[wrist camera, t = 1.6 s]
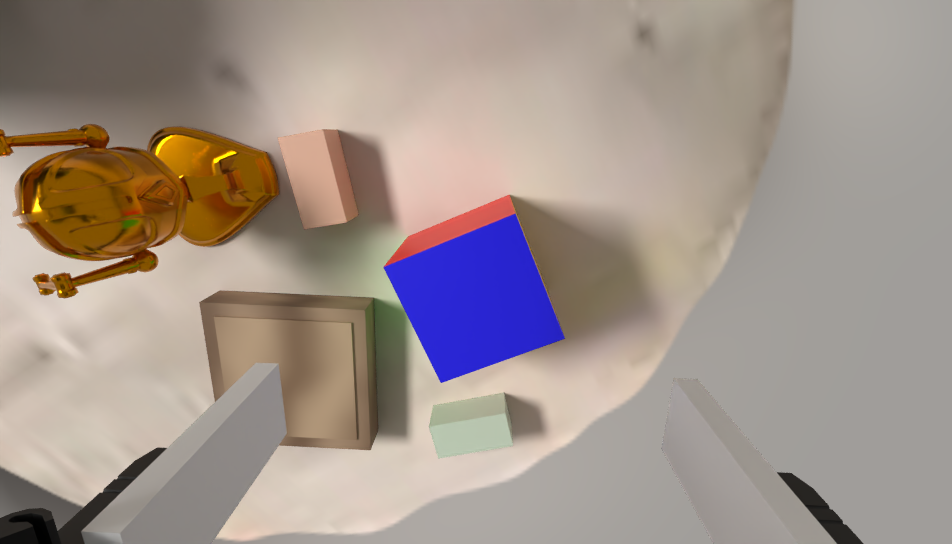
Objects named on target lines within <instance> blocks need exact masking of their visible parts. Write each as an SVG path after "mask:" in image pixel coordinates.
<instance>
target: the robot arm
mask: <svg viewBox="0 0 952 544" xmlns="http://www.w3.org/2000/svg"><path fill="white" fill-rule="evenodd" d="M286 434H287V430H286V422H285V413H284V405H283V397H282V388H281V380H280V372H279V364H276V363H255V364H254V365H253V366H252V367H251V368H250V369H249V370H248V371H247V372H246V373H245V374H244V375H243V376H242V377H241V378H240V379H239V380H238V381H237V382H235V383H234V384H233V385H232V386H231V387H230V388H229V389H228V390H227V391H226V392H225V393H224V394H223V395H222V396H221V397H220V398H219V399H218V400H217V401H216V402H215V403H214V404H213V405H212V406H211V407H210V408H209V409H207V410H206V411H205V412H204V413H203V414H202V415H201V416H200V417H199V418H198V419H197V420H196V421H195V422H194V423H193V424H192V425H191V426H190V427H189V428H188V429H187V430H186V431H185V432H184V433H183V434H182V435H180V436H179V437H178V438H177V439H176V440H175V441H174V442H173V443H172V444H171V445H170V446H169V447H168V448H156V449H154V450H152V451H151V452H149V453H147V454H146V455H144V456H142V457H141V458H139V459H137V460H135V461H134V462H133V463H132V464H131V465H130V466H129V467H128V468H127V469H125V470H124V471H123V472H122V473H121V474H120V475H119V476H118V479H117V480H116V479H114V480H113V481H112V482H111V483H110V484H109V485H108V486H107V487H106V488H105V489H104V491H103V493H99V494H98V495H97V496H96V497H95V498H94V499H93V500H91V501H90V502H89V503H88V504H87V505H86V506H85V507H84V508H83V509H82V510H80V511H79V512H78V513H77V514H76V515H75V516H74V517H73V518H72V519H71V520H70V521H68V522H67V523H66V524H65V525H64V526H63V527H62V528H61V529H60V530H59V531H57V528H56V525H55V522H54V519H53V516H52V513H51V511H48V510H46V509H43V508H38V509H26V510H22V511H19V512H15V513H11V514H9V515H6V516H4V517H2V518H0V544H211V543H212V542H213V540H214V539H215V537H216V536H217V534H218V533H219V531H220V530H221V529H222V527H223V526H224V524H225V523H226V521H227V520H228V518H229V517H230V515H231V514H232V513H233V511H234V510H235V508H236V507H237V505H238V504H239V502H240V501H241V499H242V498H243V497H244V495H245V494H246V492H247V491H248V489H249V488H250V486H251V485H252V483H253V482H254V481H255V479H256V478H257V476H258V475H259V473H260V472H261V470H262V469H263V467H264V466H265V465H266V463H267V462H268V460H269V459H270V457H271V456H272V454H273V453H274V451H275V450H276V448H277V447H278V446H279V444H280V443H281V441H282V440H283V438H284V437H285V435H286ZM662 451H663V453H664V454H665V456H666V458H667V460H668V461H669V464H670V465H671V467H672V469H673V471H674V472H675V474H676V476H677V478H678V480H679V482H680V484H681V486H682V487H683V489H684V491H685V493H686V495H687V496H688V498H689V500H690V502H691V504H692V506H693V508H694V509H695V511H696V513H697V515H698V517H699V518H700V520H701V522H702V524H703V526H704V528H705V529H706V531H707V533H708V535H709V537H710V539H711V541H712V542H713V544H863V543H862V542H861V540H860V539H859V538H858V537H857V536H856V535H855V534H854V533H853V532H852V531H851V529H850V528H849V527H848V526H847V525H844V524H843V521H842V520H841V519H840V517H839V516H838V515H837V514H836V513H835V512H834V511H833V510H830V509H829V506H828V504H827V503H826V502H825V501H824V500H823V499H822V498H821V497H820V496H819V495H818V493H817V492H816V491H815V490H814V489H813V488H812V487H810V486H809V485H807V484H806V483H805V482H803V481H802V480H800V479H799V478H797V477H796V476H794V475H793V474H792V473H778V472H776V471H775V470H774V469H773V468H772V467H771V465H770V464H769V463H768V462H767V461H766V460H765V458H764V457H763V456H762V455H761V454H760V452H759V451H758V450H757V449H756V448H755V447H754V445H753V444H752V443H751V442H750V441H749V439H748V438H747V437H746V436H745V435H744V434H743V433H742V431H741V430H740V429H739V428H738V427H737V425H736V424H735V423H734V422H733V421H732V419H731V418H730V417H729V416H728V415H727V414H726V413H725V411H724V410H723V409H722V408H721V406H720V405H719V404H718V403H717V402H716V401H715V399H714V398H713V397H712V396H711V395H710V394H709V392H708V391H707V390H706V389H705V388H704V387H703V385H702V384H701V383H700V382H699V381H698V379H677V378H674V380H673V386H672V391H671V397H670V403H669V409H668V414H667V420H666V425H665V431H664V437H663V443H662Z"/></svg>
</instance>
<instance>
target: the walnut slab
mask: <svg viewBox="0 0 952 544" xmlns="http://www.w3.org/2000/svg"><path fill="white" fill-rule="evenodd" d="M199 303H200V309H201V315H202V322H203V328H204V335H205V341H206V347H207V354H208V360H209V366H210V373H211V379H212V385H213V392H214V398H215V402H216V401H217V400H218V399H219V398H220V397H221V396H222V395H223V394H224V393H225V392H226V391H227V390H228V389H229V388H230V387H231V386H232V385H233V384H234V383H235V382H237V381H238V380H239V379H240V378H241V377H242V376H243V375H244V374H245V373H246V372H247V371H248V370H249V369H250V368H251V367H252V366H253V365H254V364H255V363H276V364H279V372H280V380H281V388H282V397H283V405H284V413H285V422H286V430H287V434H286V435H285V437H284V438H283V440H282V441H281V443H280V444H279V445H282V446H301V447H320V448H339V449H358V450H371V447H372V445H373V442H374V440H375V437H376V434H377V432H378V413H377V382H376V351H375V320H374V298H365V297H344V296H322V295H301V294H280V293H258V292H237V291H218V292H217V293H215V294H213V295H211V296H210V297H208V298H206V299H204V300H203V301H201V302H199Z"/></svg>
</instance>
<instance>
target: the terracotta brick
mask: <svg viewBox="0 0 952 544" xmlns="http://www.w3.org/2000/svg"><path fill="white" fill-rule="evenodd" d="M278 141H279V145H280V148H281V151H282V155H283V158H284V162H285V165H286V169H287V172H288V176H289V179H290V183H291V186H292V190H293V193H294V197H295V200H296V204H297V207H298V210H299V214H300V217H301V221H302V224H303V228H304V229H310V228H316V227H322V226H328V225H334V224H340V223H346V222H348V221H350V220H352V219H353V218H355V217H356V216H358V215H359V214H358V210H357V206H356V202H355V198H354V194H353V190H352V186H351V182H350V177H349V173H348V169H347V165H346V161H345V157H344V153H343V149H342V145H341V141H340V137H339V133H338V130H327V129H322V130H317V131H311V132H306V133H300V134H295V135H290V136H284V137H279V138H278Z"/></svg>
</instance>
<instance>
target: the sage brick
mask: <svg viewBox="0 0 952 544" xmlns="http://www.w3.org/2000/svg"><path fill="white" fill-rule="evenodd" d="M429 429H430V432H431V435H432V439H433V442H434V445H435V449H436V452H437V455H438V459H439V458H444V457H450V456H456V455H462V454H468V453H474V452H480V451H486V450H492V449H498V448H504V447H510V446H513V438H512V424H511V419H510V415H509V411H508V407H507V403H506V398H505V394H504V393H500V394H494V395H488V396H483V397H477V398H472V399H466V400H461V401H455V402H450V403H444V404H439V405H433V410H432V414H431V419H430V424H429Z"/></svg>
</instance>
